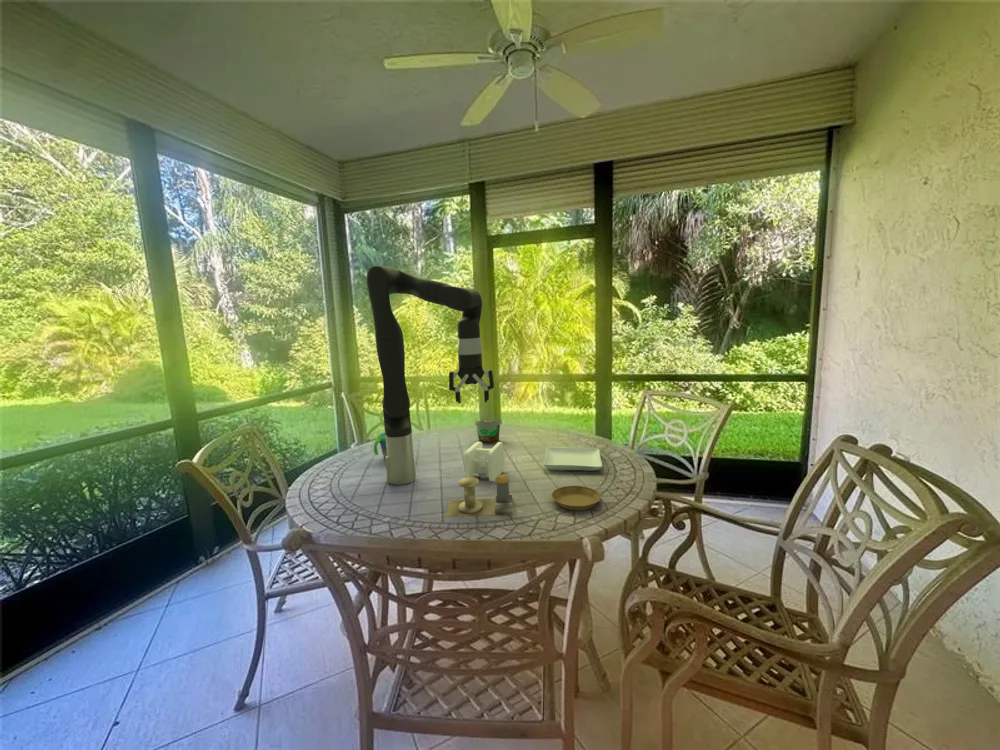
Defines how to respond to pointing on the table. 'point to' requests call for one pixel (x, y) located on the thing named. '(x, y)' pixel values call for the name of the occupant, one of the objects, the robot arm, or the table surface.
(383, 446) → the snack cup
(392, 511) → the table surface
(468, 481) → the bobbin
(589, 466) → the salad plate
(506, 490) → the spice jar
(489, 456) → the cable organizer
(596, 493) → the plant saucer
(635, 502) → the table surface
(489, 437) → the food container
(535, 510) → the table surface
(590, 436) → the table surface
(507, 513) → the winding board
